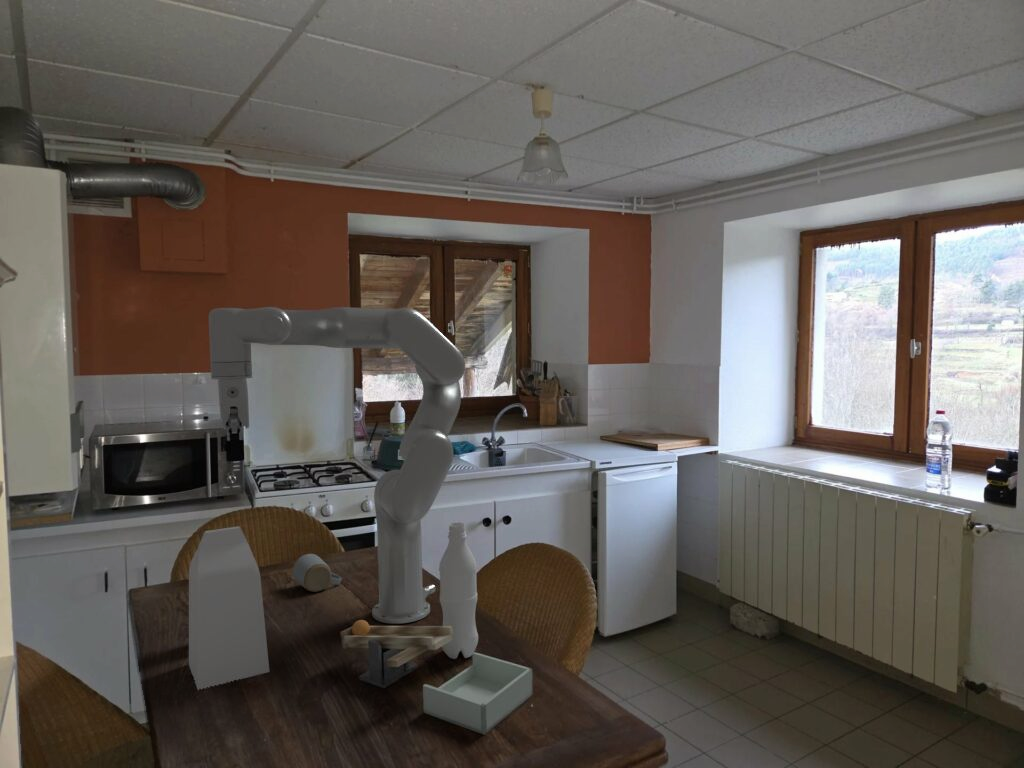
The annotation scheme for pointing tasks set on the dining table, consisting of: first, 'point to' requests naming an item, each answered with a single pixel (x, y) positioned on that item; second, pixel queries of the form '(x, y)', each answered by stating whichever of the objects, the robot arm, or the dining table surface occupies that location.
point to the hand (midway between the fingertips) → (235, 457)
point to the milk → (225, 611)
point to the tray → (480, 694)
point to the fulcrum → (384, 666)
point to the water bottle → (459, 593)
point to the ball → (360, 628)
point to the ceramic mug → (314, 573)
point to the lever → (401, 640)
